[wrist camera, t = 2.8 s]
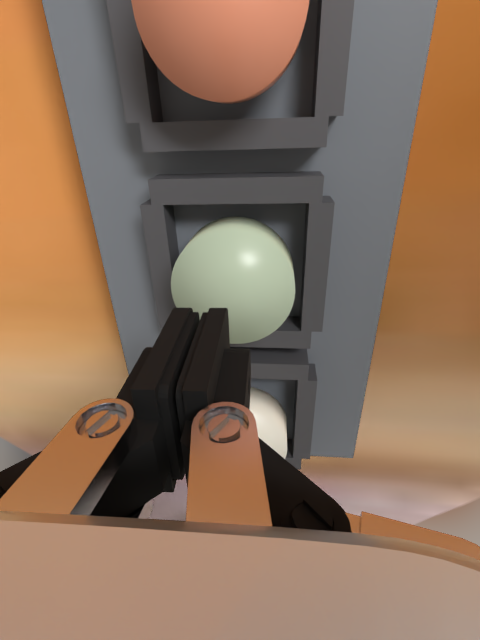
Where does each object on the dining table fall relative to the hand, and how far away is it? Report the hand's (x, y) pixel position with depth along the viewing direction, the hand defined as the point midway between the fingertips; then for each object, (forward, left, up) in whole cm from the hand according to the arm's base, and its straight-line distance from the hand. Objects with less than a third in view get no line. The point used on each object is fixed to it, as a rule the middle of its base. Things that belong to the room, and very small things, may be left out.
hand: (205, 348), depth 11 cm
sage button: (0, 0, -6) cm, 6 cm away
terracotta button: (0, -9, -6) cm, 11 cm away
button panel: (0, 0, -10) cm, 10 cm away
